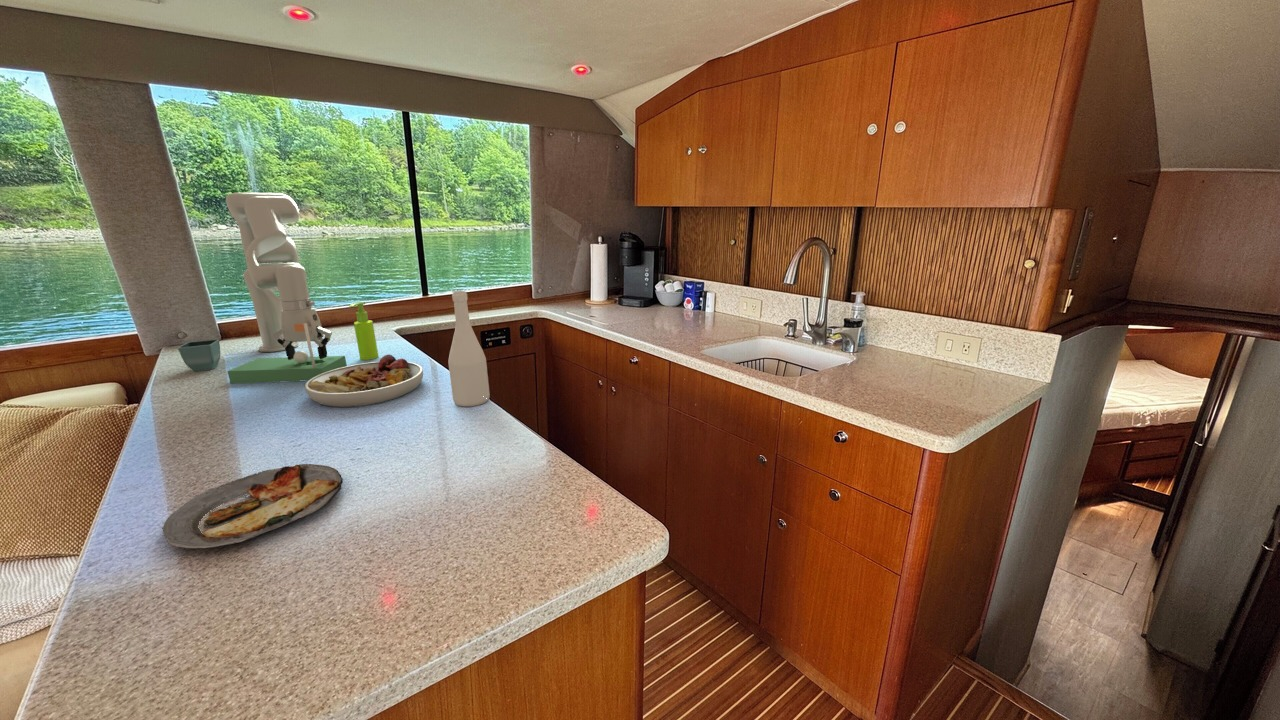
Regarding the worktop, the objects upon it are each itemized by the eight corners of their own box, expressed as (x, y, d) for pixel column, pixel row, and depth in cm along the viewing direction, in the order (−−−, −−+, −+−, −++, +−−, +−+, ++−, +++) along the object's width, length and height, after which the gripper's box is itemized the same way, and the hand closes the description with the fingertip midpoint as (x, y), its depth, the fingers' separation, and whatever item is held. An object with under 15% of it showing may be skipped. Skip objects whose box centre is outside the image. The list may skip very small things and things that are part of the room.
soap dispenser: (353, 360, 176) (343, 304, 170) (369, 354, 182) (359, 300, 177) (367, 361, 174) (357, 304, 169) (382, 355, 181) (373, 301, 175)
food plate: (317, 461, 103) (313, 445, 102) (366, 500, 89) (362, 483, 88) (155, 519, 85) (148, 502, 84) (184, 581, 71) (177, 561, 70)
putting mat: (261, 369, 166) (248, 316, 161) (347, 367, 168) (337, 314, 162) (230, 383, 153) (215, 326, 148) (324, 380, 154) (312, 323, 149)
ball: (305, 363, 161) (295, 354, 160) (313, 356, 161) (304, 346, 160) (297, 367, 157) (287, 357, 156) (306, 359, 157) (297, 350, 156)
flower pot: (194, 367, 170) (186, 341, 167) (225, 363, 174) (219, 338, 171) (184, 374, 162) (176, 347, 160) (217, 370, 166) (210, 344, 163)
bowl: (395, 411, 130) (390, 382, 128) (282, 411, 131) (275, 383, 128) (440, 375, 159) (437, 351, 157) (348, 376, 159) (344, 352, 157)
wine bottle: (467, 410, 129) (453, 295, 120) (446, 402, 135) (431, 292, 126) (497, 399, 136) (486, 290, 128) (476, 392, 142) (464, 288, 133)
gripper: (331, 302, 158) (341, 354, 163) (275, 304, 157) (287, 355, 162) (318, 307, 151) (329, 360, 156) (259, 308, 150) (272, 362, 155)
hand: (307, 358), depth 159 cm, fingers open, 9 cm apart
